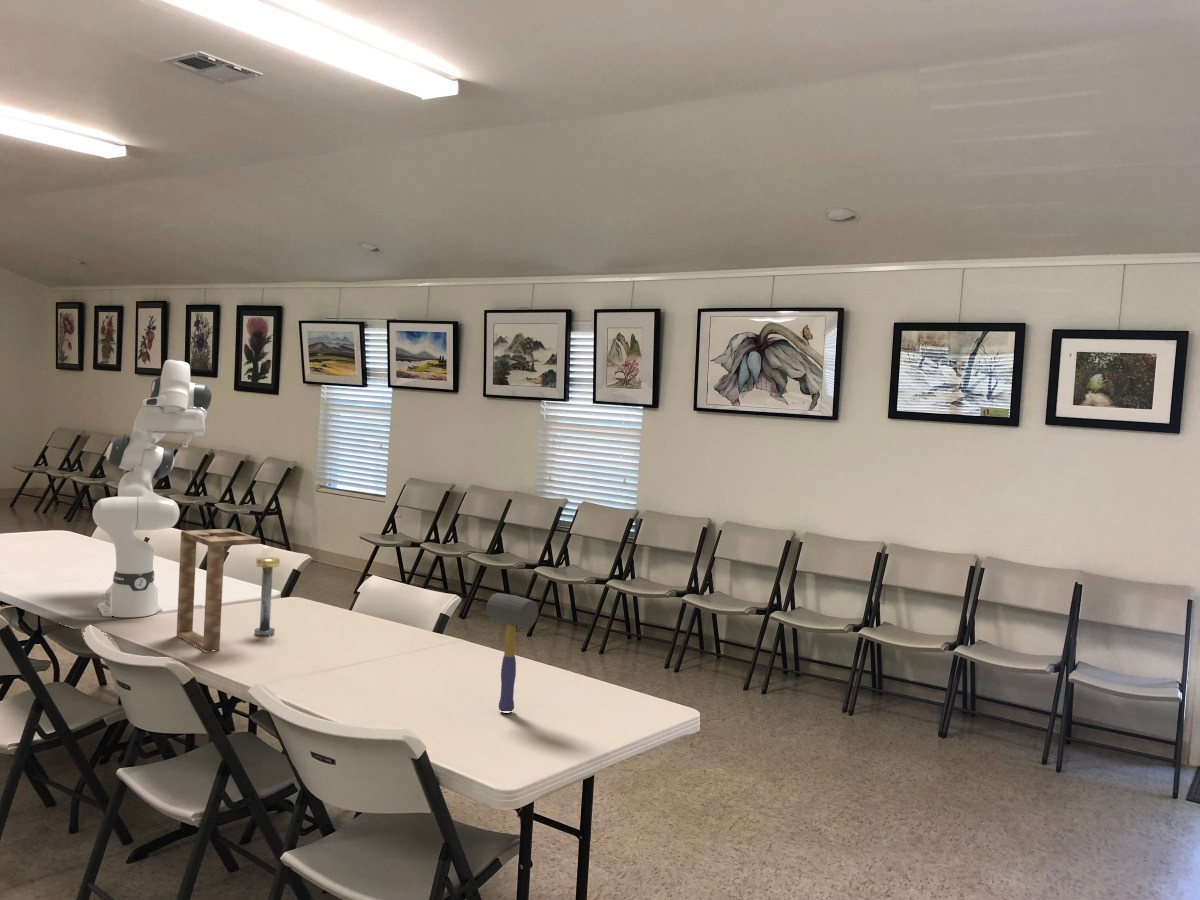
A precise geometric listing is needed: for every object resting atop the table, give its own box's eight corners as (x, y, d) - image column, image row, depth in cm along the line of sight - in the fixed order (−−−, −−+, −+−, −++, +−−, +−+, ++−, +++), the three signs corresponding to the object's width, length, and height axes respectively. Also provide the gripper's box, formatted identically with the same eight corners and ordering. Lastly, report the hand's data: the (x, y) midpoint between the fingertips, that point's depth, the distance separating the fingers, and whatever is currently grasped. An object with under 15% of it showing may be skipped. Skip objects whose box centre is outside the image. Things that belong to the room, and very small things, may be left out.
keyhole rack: (224, 629, 300) (229, 528, 299) (255, 645, 285) (260, 538, 283) (176, 635, 290) (181, 531, 288) (205, 652, 274) (210, 541, 273)
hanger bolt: (248, 633, 298) (252, 558, 297) (269, 630, 303) (273, 556, 302) (258, 638, 293) (262, 561, 292) (280, 635, 298) (283, 560, 297)
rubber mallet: (477, 710, 239) (484, 593, 238) (497, 703, 245) (504, 589, 244) (514, 722, 232) (521, 601, 230) (534, 715, 238) (541, 597, 236)
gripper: (208, 411, 309) (205, 451, 304) (139, 407, 302) (135, 447, 297) (207, 404, 303) (204, 444, 298) (137, 399, 297) (132, 440, 292)
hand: (168, 445), depth 298 cm, fingers open, 8 cm apart
